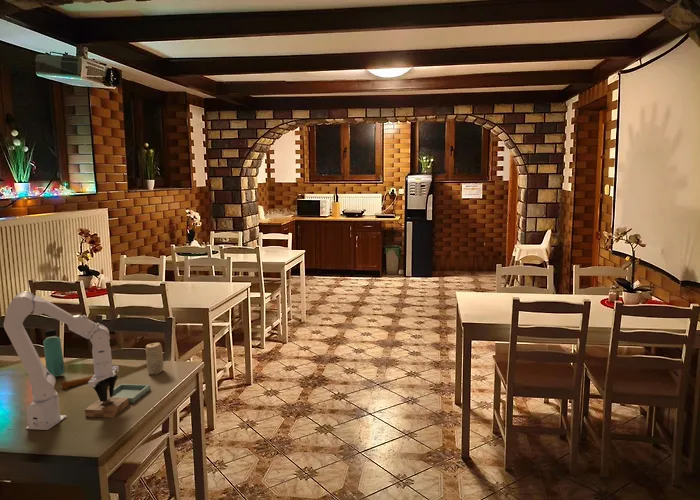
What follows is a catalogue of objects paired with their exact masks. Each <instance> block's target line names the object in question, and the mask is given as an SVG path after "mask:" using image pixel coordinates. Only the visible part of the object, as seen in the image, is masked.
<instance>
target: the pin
mask: <svg viewBox="0 0 700 500" xmlns="http://www.w3.org/2000/svg"><path fill="white" fill-rule="evenodd" d="M109 388H110V385H108V389H107V401H106V402H103V406H110V405H111V401H110V391H109Z"/></svg>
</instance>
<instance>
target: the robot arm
mask: <svg viewBox="0 0 700 500" xmlns="http://www.w3.org/2000/svg"><path fill="white" fill-rule="evenodd" d="M31 313H32V315H33V316H34V315H35V316H36V315H43V314H44V315H46V316H48V317H50V318H53V319H55V320H57V321H59V322H62V323H64V324H65V325H67V327H68V330H69V331H71V332H73V333H74V334H77V335H79V336H81V337H82V338H85V339H87V340H90V343H91V344H92V345H91V346H92V348H91V349H92V350H91V351H92V362H93V363H92V364H93V372H94V375H92V376H93V377H92V379H91V380H90V381H88V383H87V385H88V386H87V387H88V388H93V390H94V391H95V392H96V395H97V396H98V400H99V399H100V401H103V402H106V401H107V389H108V385H110V388H109V391H110V397H112V396H113V391H114V388H115V387H116V386H115V385H116V383H117V380H118V378H119V377H118V375H117V373H119V371H120V368H119V367H120V366H119V365H113V360H112V359H113V357H112V350H111V349H112V348H111V346H110V344H111V342H110V340H111V336H110V331H109V328H108V327H106V326H105V325H104V324H101V323H99V322H95V321H93V320H90V319H89V318H88V316H87V315H85V314H83V315H82V314H72V313H69V312H68V311H66V310H65V309H63V308H61V307H59V306H57V305H56V304H54V303H52V302H50V301H49V300H47V299H45V298H43V297H41V296H40V295H37V294H35V295H34V293H33V292H32V291H31V292H30V291H29V290H28V291H27V290H25V291H20V292H18V293H16V295H15V296H14V297H13V299H11V302H10V303H9V304H8V306H7V307H6V313H5V317H4V321H3V325H2V326H3V328H4V331H5V333H6V335H7V337H8V338H9V340H10V342H11V345H12V346H13V348H14V350H15V352H16V354H17V356H18V358H19V360H20V361H21V363H22V365H23V368H24V370H25V371H26V373H27V376H28V379H29V383H30V386H31V396H32V400H31V401H32V402H31V403H30V404H29V405H28V406H27V408H26V420H27V421H26V422H27V426H26V427H25V429H26V430H38V431H39V430H41V431H42V430H43V431H48V430H50V429H51V428H53V427H54V426H56V425H57V424H59V423H60V422H61V421H63V420H65V419H66V418H67V415H65V414H64V415H63V414H62V415H61V411H60V403H59V395H58V394H59V393H58V391H57V390H55V386H56V383H57V379H56V376H53V375H52V374H51V373H49V372H48V370H47V368H46V365H44V364H43V362H42V360H41V357H40V356H39V353H38V351H37V350H36V348H35V346H34V344H33V342H32V340H31V338H30V336H29V335H28V334H29V333H28V332H27V330H26V329H25V326H24V324H23V323H24V321H25V320H26V318H27V317H28V316H29V315H30V314H31Z"/></svg>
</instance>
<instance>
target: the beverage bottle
mask: <svg viewBox="0 0 700 500" xmlns="http://www.w3.org/2000/svg"><path fill="white" fill-rule="evenodd" d="M56 335H58V333H57V329H55V328H49V329H46V330H45V331H44V336H45V337H46V338H45V339H44V340H43V342H42V344H43V351H44V361H45V367H46V368H47V370H48V372H49V373H51V374H52V375H53V376H54V377H58V376H61V375H63V374H65V372H66V371H65V370H66V369H65V368H66V367H65V361H64V356H63V349H62V348H63V347H62V341H61V338H60V337H59V336H56Z"/></svg>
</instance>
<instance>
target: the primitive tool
mask: <svg viewBox="0 0 700 500" xmlns="http://www.w3.org/2000/svg"><path fill="white" fill-rule="evenodd" d="M93 376H94V375H90V376H87V377H82V378H77V379H71V380H69V381H68V380H67V381H66V380H63V381H62V384H61V389H63V390H68V389H69V388H72V387H76V386H80V385H84V384H88V381H90V380H91V379H92V377H93Z"/></svg>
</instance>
